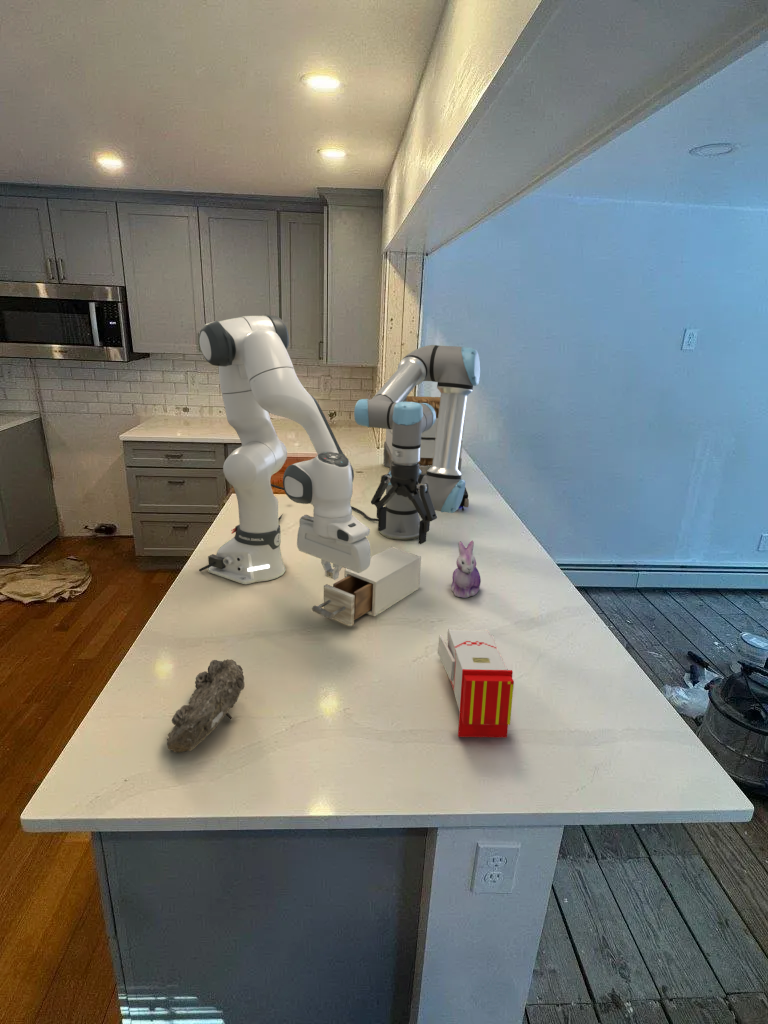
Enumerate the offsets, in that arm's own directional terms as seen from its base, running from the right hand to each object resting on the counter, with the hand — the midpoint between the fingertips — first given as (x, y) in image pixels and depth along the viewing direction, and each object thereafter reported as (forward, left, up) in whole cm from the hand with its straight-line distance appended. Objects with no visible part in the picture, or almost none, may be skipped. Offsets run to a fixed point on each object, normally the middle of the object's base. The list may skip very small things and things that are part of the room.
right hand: (401, 536), depth 157 cm
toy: (+44, -20, -16) cm, 51 cm away
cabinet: (+2, -8, -16) cm, 17 cm away
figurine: (+14, +13, -16) cm, 25 cm away
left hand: (+7, -28, -2) cm, 29 cm away
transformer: (-82, +88, -16) cm, 121 cm away
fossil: (+19, -65, -16) cm, 70 cm away
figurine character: (-37, +66, -16) cm, 78 cm away
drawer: (+4, -19, -15) cm, 25 cm away
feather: (-66, +1, -16) cm, 68 cm away
